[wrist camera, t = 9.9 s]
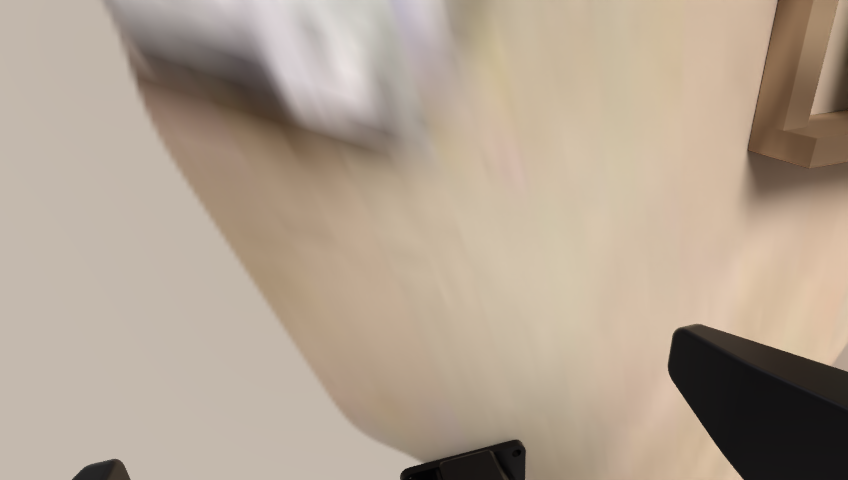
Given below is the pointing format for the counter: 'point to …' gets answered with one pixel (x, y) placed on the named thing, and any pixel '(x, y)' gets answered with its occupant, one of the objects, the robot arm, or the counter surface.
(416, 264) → the counter surface
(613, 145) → the counter surface
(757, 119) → the holder
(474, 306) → the counter surface
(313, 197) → the counter surface
